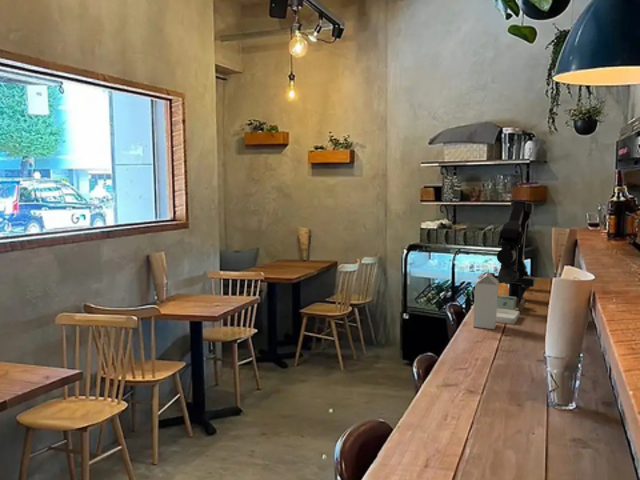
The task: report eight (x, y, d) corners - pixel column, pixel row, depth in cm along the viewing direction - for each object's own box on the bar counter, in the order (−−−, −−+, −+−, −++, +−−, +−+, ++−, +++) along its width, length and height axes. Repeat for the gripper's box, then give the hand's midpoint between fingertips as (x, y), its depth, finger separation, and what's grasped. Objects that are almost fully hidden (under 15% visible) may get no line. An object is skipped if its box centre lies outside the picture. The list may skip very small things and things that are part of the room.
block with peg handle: (499, 308, 233) (500, 295, 232) (515, 310, 230) (516, 297, 229) (495, 312, 225) (496, 299, 224) (511, 315, 222) (512, 301, 222)
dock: (496, 303, 239) (497, 296, 239) (524, 307, 234) (524, 299, 234) (493, 307, 233) (493, 299, 233) (521, 310, 228) (522, 303, 228)
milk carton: (495, 324, 208) (499, 269, 206) (494, 329, 202) (498, 273, 199) (474, 322, 211) (477, 268, 208) (472, 327, 204) (476, 271, 201)
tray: (486, 312, 225) (487, 307, 224) (519, 316, 220) (519, 311, 219) (479, 319, 214) (480, 314, 214) (513, 324, 209) (514, 318, 209)
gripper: (479, 261, 222) (476, 303, 225) (532, 266, 214) (529, 309, 216) (485, 257, 232) (483, 297, 234) (536, 262, 224) (533, 303, 226)
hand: (506, 301), depth 228 cm, fingers open, 9 cm apart
